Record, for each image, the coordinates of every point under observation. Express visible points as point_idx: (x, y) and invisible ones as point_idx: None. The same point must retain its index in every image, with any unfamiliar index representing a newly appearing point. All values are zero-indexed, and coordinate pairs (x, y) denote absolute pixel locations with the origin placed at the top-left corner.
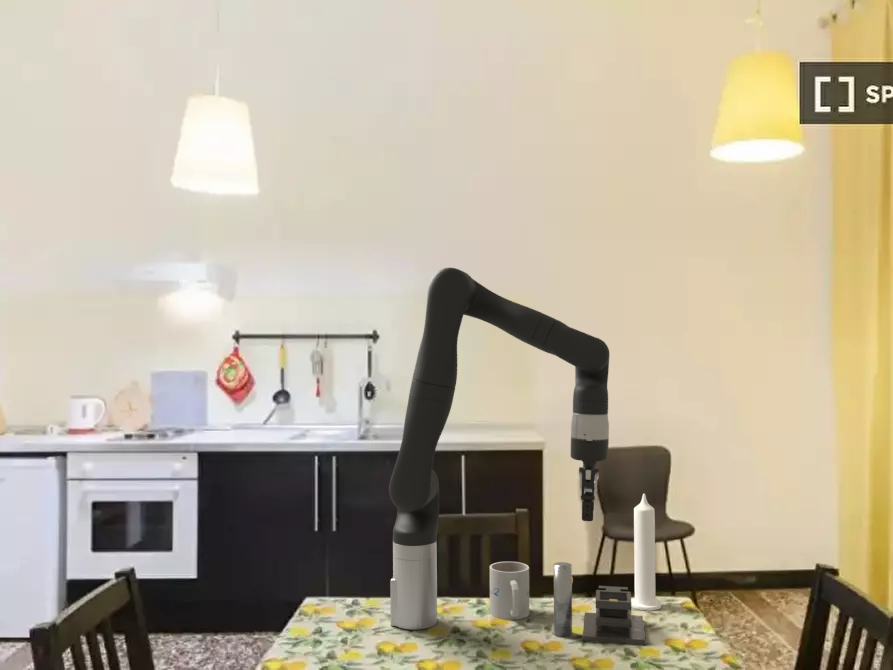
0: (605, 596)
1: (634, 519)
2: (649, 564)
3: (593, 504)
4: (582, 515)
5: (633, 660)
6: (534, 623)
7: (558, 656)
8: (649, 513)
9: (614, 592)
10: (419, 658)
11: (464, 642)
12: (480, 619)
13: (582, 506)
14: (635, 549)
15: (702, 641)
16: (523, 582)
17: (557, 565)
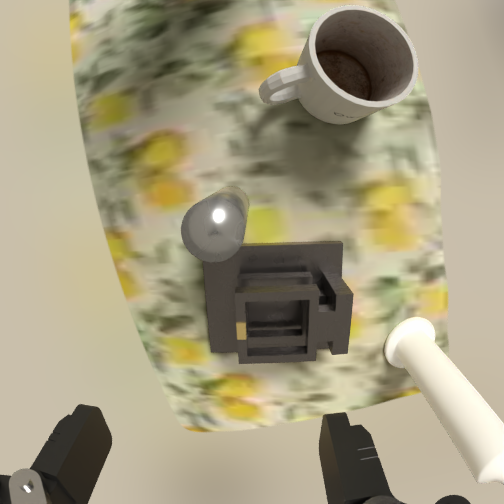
0: (307, 306)
1: (492, 431)
2: (425, 397)
3: (87, 500)
4: (72, 419)
5: (143, 327)
6: (282, 139)
7: (121, 208)
8: (473, 475)
9: (308, 330)
10: (82, 9)
11: (151, 37)
12: (280, 34)
13: (51, 453)
14: (454, 389)
15: (252, 416)
16: (328, 98)
17: (197, 214)
